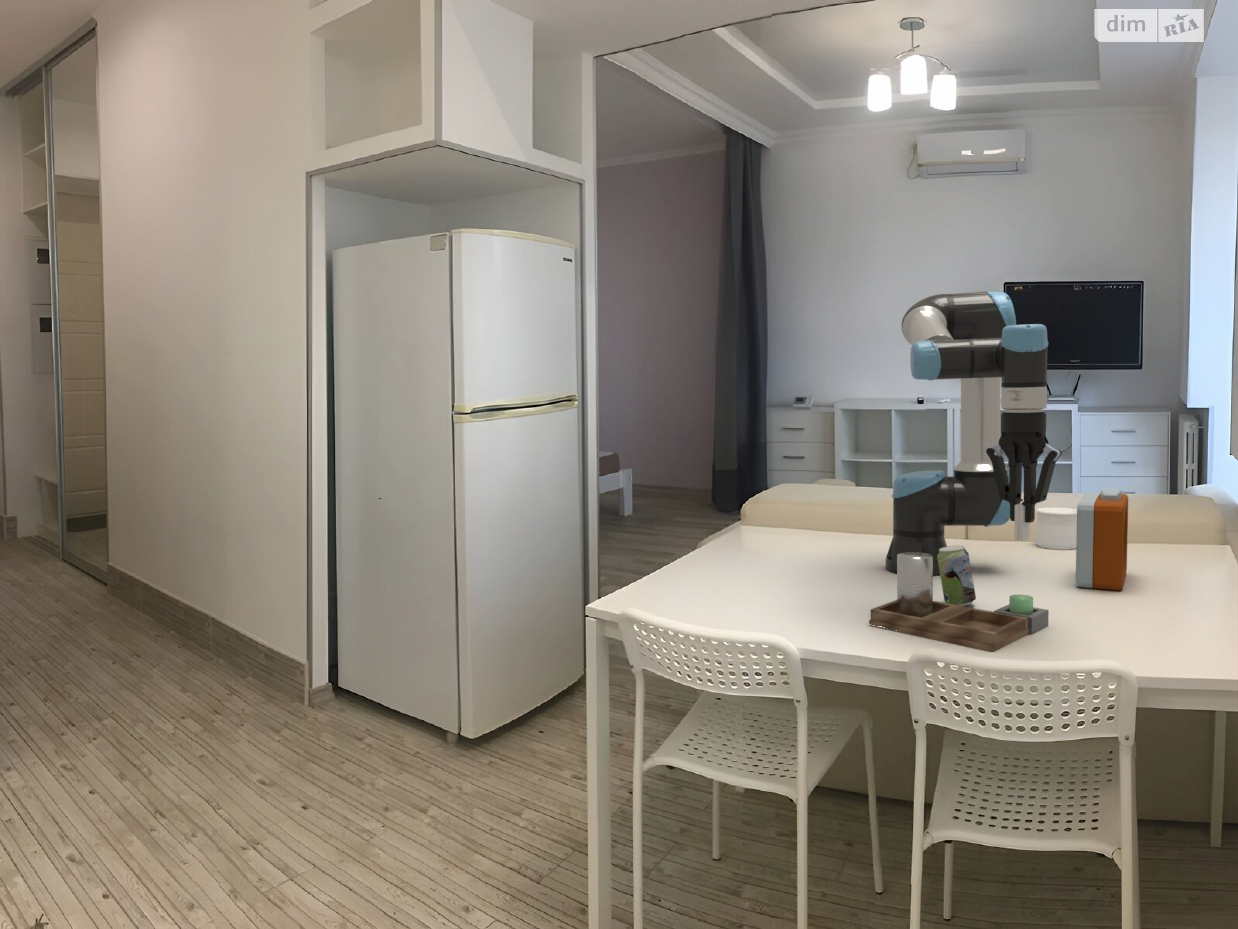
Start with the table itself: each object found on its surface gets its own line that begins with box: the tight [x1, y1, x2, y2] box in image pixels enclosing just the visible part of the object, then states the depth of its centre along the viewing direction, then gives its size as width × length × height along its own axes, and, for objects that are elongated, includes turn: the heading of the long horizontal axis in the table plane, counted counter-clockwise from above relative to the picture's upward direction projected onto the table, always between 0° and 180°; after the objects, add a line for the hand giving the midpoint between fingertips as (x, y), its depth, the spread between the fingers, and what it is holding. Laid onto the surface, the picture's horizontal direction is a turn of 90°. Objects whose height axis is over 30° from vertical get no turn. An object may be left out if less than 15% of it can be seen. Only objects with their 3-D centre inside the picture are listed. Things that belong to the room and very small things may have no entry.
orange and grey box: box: [1075, 487, 1129, 592], centre depth 196 cm, size 18×9×21 cm, turn 148°
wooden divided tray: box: [868, 599, 1030, 653], centre depth 165 cm, size 24×14×3 cm, turn 42°
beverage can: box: [937, 545, 977, 607], centre depth 181 cm, size 6×7×12 cm
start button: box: [1008, 594, 1034, 615], centre depth 165 cm, size 4×4×4 cm
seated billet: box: [896, 552, 934, 618], centre depth 170 cm, size 6×6×12 cm
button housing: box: [993, 604, 1050, 635], centre depth 166 cm, size 7×7×3 cm
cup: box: [1035, 507, 1077, 551], centre depth 233 cm, size 10×10×10 cm
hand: (1022, 539), depth 164 cm, fingers closed
